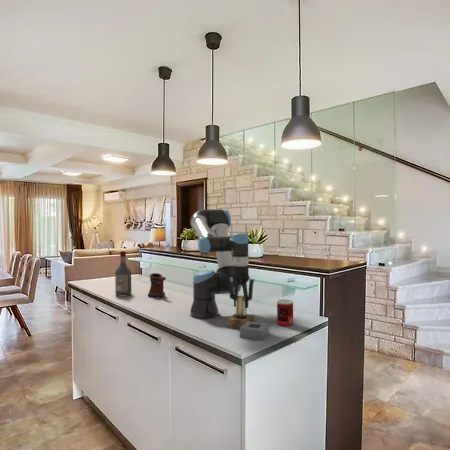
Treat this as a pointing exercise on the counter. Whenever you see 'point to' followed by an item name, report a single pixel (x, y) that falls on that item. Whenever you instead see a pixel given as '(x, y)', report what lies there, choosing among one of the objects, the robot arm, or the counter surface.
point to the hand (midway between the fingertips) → (241, 313)
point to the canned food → (285, 312)
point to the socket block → (254, 330)
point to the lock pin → (240, 307)
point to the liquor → (123, 277)
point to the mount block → (239, 321)
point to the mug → (156, 286)
